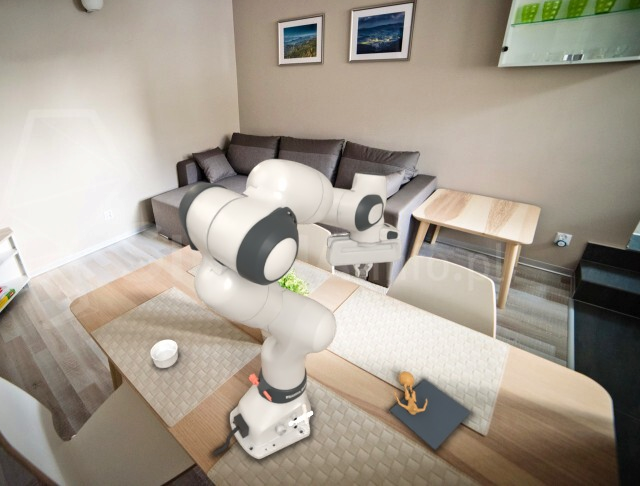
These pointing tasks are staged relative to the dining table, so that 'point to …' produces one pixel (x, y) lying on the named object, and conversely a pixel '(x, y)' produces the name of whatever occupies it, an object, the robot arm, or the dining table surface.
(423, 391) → the felt mat
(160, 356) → the ramekin
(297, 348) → the robot arm
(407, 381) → the figurine
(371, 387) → the dining table surface
